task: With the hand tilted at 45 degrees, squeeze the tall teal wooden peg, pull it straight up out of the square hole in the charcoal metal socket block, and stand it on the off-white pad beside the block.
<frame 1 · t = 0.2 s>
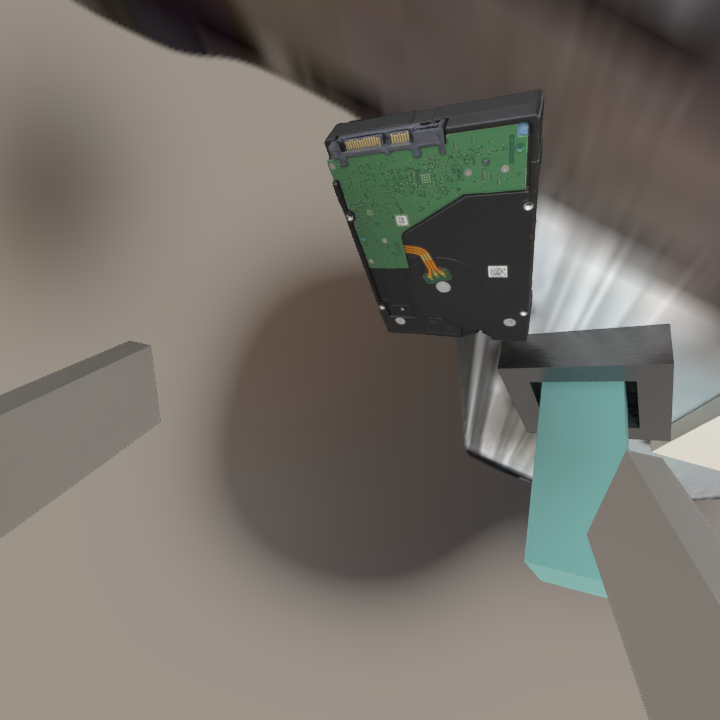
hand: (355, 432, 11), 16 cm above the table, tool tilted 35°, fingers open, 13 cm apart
socket block: (586, 371, 30), on the table
teal peg: (583, 462, 26), in the socket block
disk drive: (448, 228, 24), on the table
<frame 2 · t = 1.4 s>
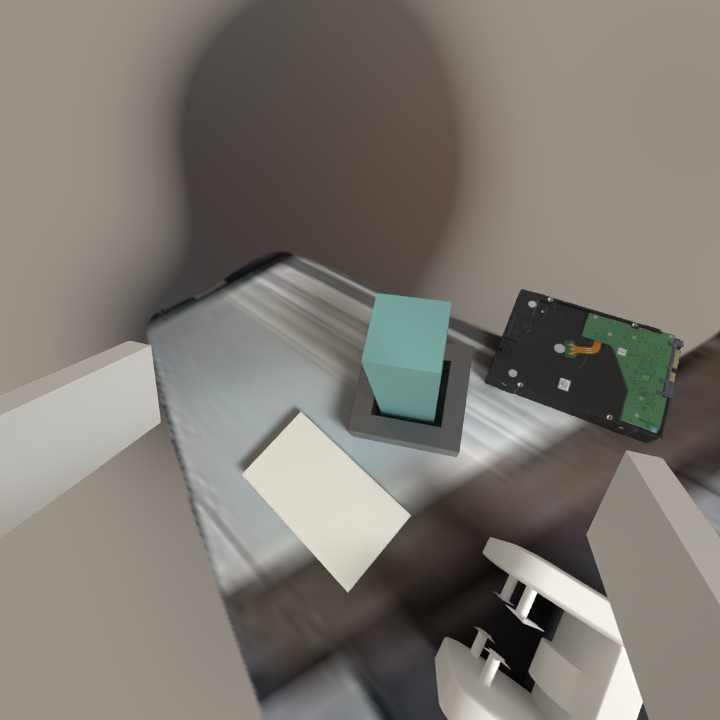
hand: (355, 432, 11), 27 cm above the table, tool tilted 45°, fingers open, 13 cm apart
socket block: (412, 396, 39), on the table
teal peg: (410, 370, 32), in the socket block
off-white pad: (326, 494, 37), on the table
disk drive: (574, 367, 38), on the table
cable organizer: (547, 652, 30), on the table
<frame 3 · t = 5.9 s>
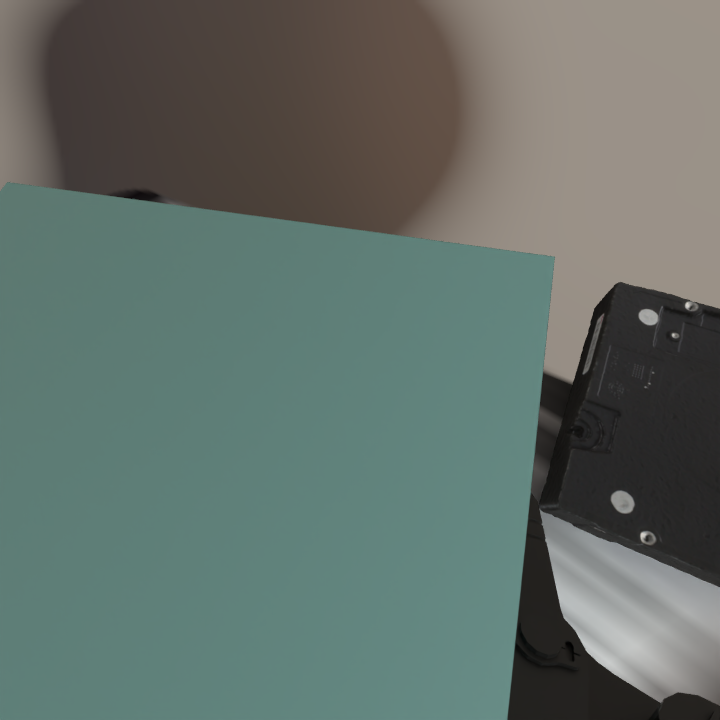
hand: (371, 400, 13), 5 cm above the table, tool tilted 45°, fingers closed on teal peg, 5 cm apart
teal peg: (326, 520, 9), in the socket block, touching gripper
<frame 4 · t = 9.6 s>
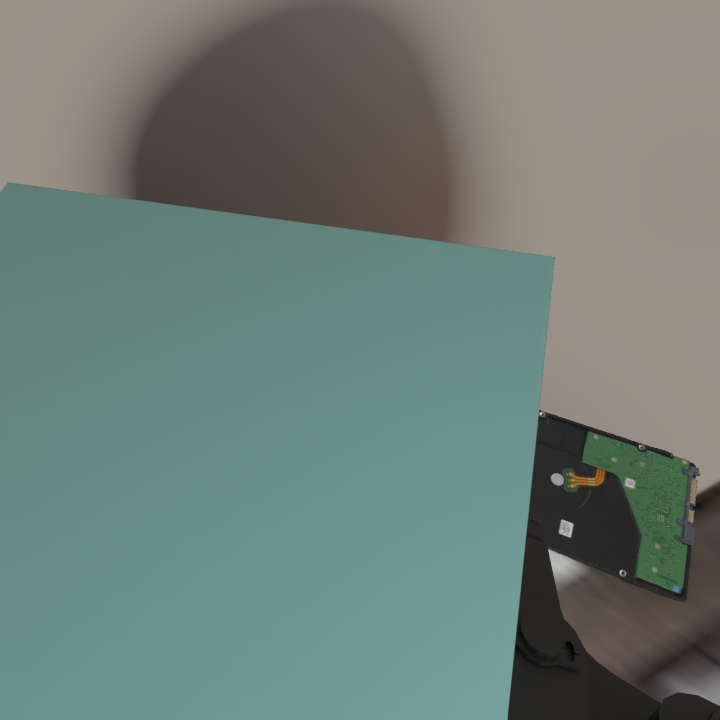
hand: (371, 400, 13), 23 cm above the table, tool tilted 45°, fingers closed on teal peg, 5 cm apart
teal peg: (326, 520, 9), point 25 cm above the table, touching gripper
disk drive: (573, 492, 33), on the table
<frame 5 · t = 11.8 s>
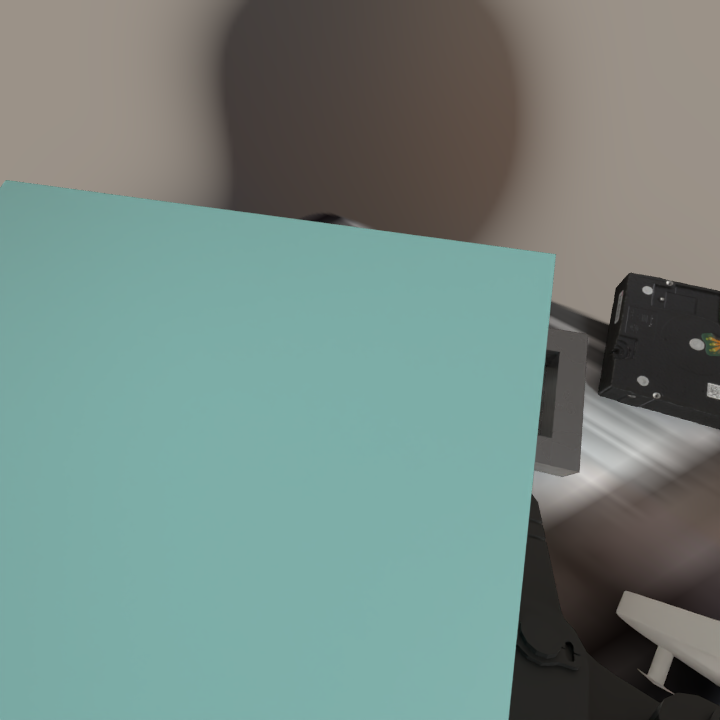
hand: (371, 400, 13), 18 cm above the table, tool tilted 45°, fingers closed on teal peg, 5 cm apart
socket block: (499, 396, 30), on the table
teal peg: (325, 520, 9), point 20 cm above the table, touching gripper
disk drive: (705, 367, 30), on the table
when the fingers open (8 cm above the table, at t = 13.8 s): teal peg drops 1 cm, resting on off-white pad.
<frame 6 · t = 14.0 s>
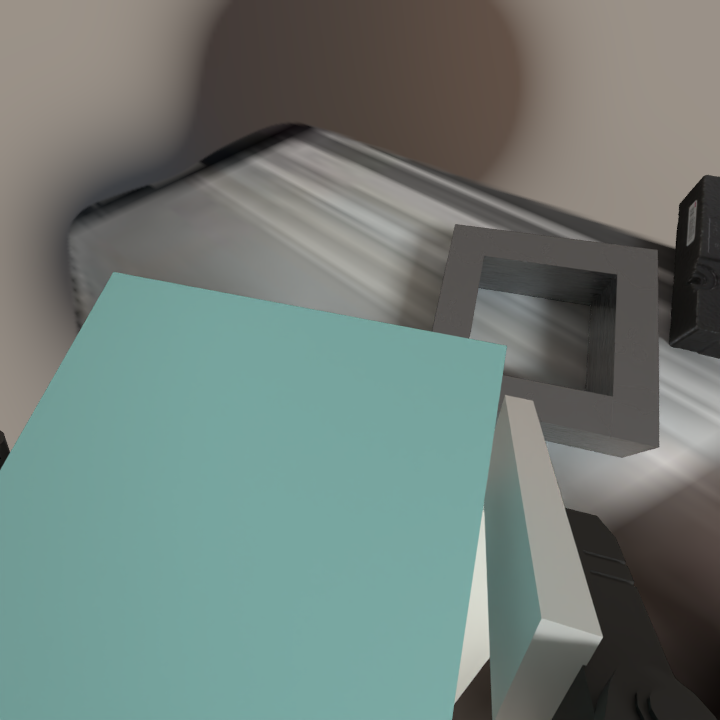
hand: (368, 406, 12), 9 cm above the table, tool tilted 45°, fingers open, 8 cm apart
socket block: (525, 345, 21), on the table
teal peg: (335, 521, 11), on the off-white pad, point 9 cm above the table
off-white pad: (366, 519, 19), on the table
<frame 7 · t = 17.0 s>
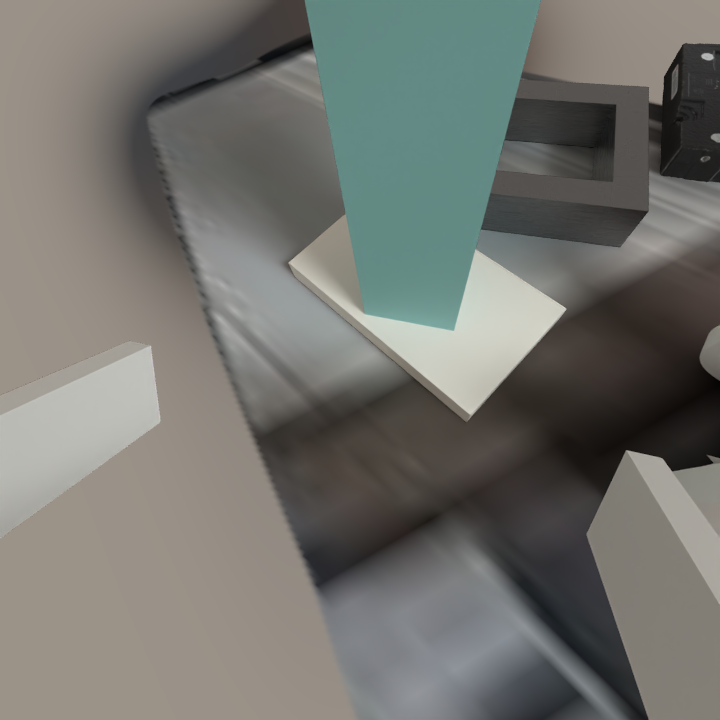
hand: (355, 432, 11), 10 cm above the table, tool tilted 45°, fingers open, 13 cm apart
socket block: (541, 176, 26), on the table
teal peg: (423, 180, 16), on the off-white pad, point 9 cm above the table
off-white pad: (417, 297, 24), on the table
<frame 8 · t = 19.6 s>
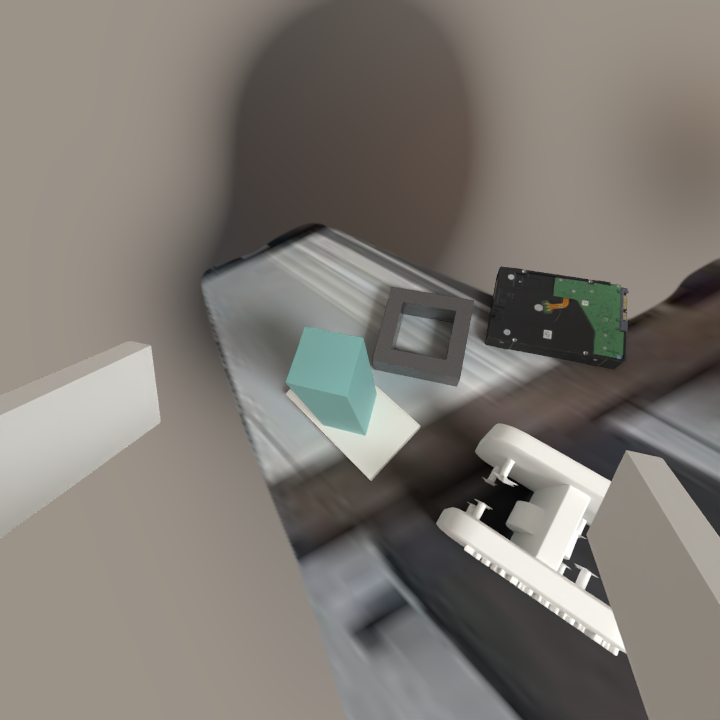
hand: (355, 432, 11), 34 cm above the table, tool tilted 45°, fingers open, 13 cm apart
socket block: (423, 340, 48), on the table
teal peg: (339, 389, 38), on the off-white pad, point 9 cm above the table
off-white pad: (352, 412, 46), on the table
disk drive: (550, 322, 48), on the table
cable organizer: (520, 526, 40), on the table
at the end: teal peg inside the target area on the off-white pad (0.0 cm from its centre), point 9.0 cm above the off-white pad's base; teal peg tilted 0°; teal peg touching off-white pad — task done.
